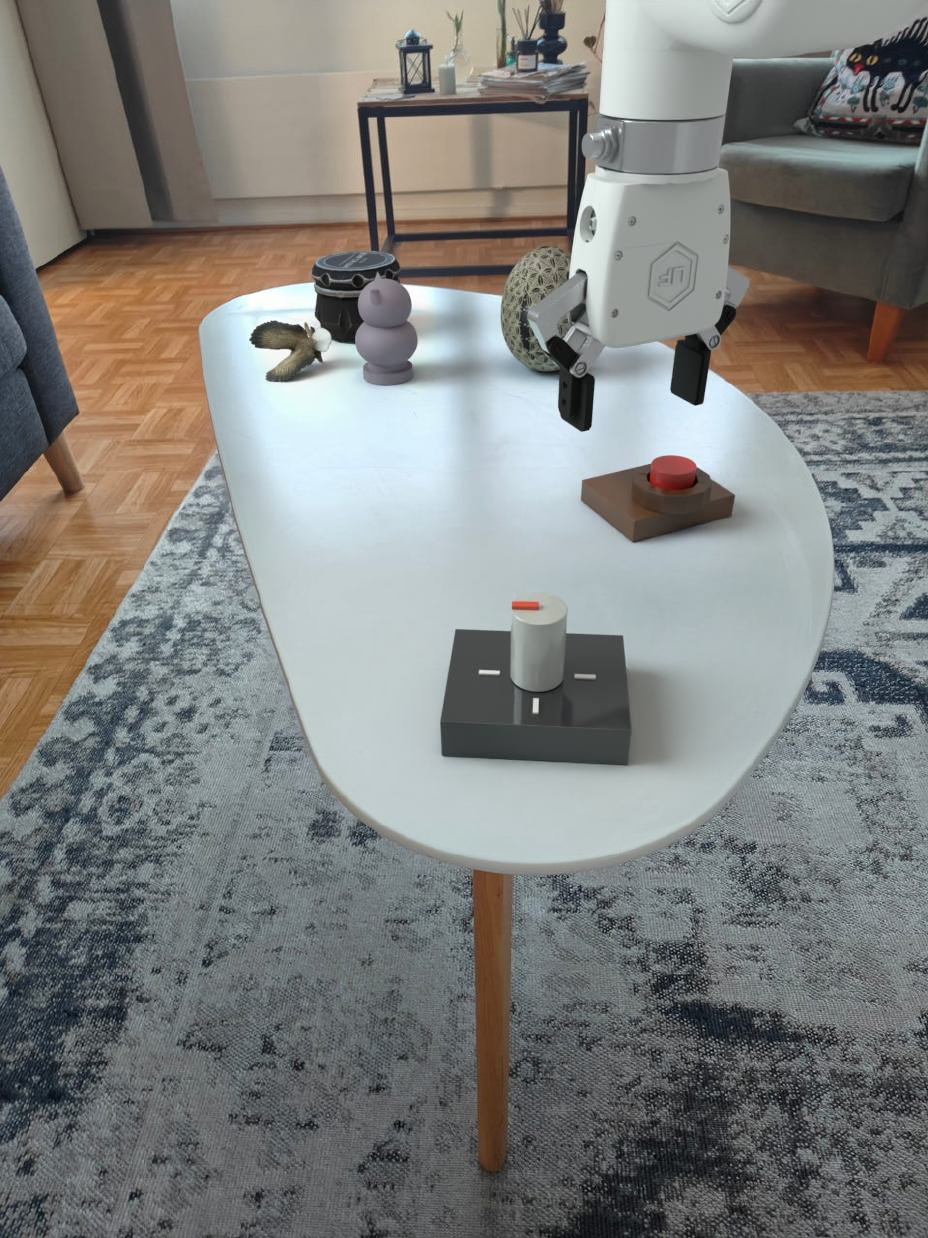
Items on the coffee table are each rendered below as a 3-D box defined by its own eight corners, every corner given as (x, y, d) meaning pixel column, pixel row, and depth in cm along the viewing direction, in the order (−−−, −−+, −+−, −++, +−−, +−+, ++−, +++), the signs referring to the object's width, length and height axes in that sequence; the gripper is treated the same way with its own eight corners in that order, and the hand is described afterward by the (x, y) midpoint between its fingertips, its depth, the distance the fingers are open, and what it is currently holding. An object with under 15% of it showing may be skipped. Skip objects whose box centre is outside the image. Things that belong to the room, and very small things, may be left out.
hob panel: (619, 668, 66) (623, 633, 64) (627, 765, 58) (632, 728, 56) (456, 661, 67) (455, 626, 65) (441, 756, 59) (439, 719, 57)
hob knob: (563, 659, 62) (567, 588, 58) (564, 693, 59) (568, 621, 55) (510, 658, 62) (511, 587, 59) (509, 691, 59) (510, 619, 56)
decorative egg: (566, 391, 110) (572, 263, 101) (483, 375, 115) (482, 251, 106) (606, 362, 118) (614, 241, 109) (527, 348, 123) (529, 231, 114)
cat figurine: (417, 388, 112) (412, 289, 105) (354, 389, 112) (345, 289, 105) (421, 364, 119) (417, 269, 112) (362, 364, 119) (354, 270, 112)
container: (314, 321, 135) (306, 251, 129) (400, 314, 136) (395, 245, 131) (319, 349, 124) (310, 274, 119) (411, 341, 126) (407, 267, 120)
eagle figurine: (294, 344, 122) (240, 349, 116) (314, 303, 118) (259, 307, 111) (325, 386, 121) (272, 393, 114) (347, 346, 116) (292, 351, 110)
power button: (676, 468, 84) (679, 451, 83) (703, 486, 81) (705, 468, 80) (640, 477, 83) (642, 460, 82) (666, 495, 80) (668, 478, 79)
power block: (674, 476, 91) (679, 439, 88) (738, 520, 83) (745, 480, 81) (580, 500, 87) (582, 462, 85) (638, 547, 79) (642, 507, 77)
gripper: (570, 170, 49) (556, 455, 59) (809, 143, 56) (760, 407, 65) (505, 151, 55) (502, 415, 65) (729, 129, 61) (695, 374, 71)
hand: (632, 411), depth 65 cm, fingers open, 9 cm apart
